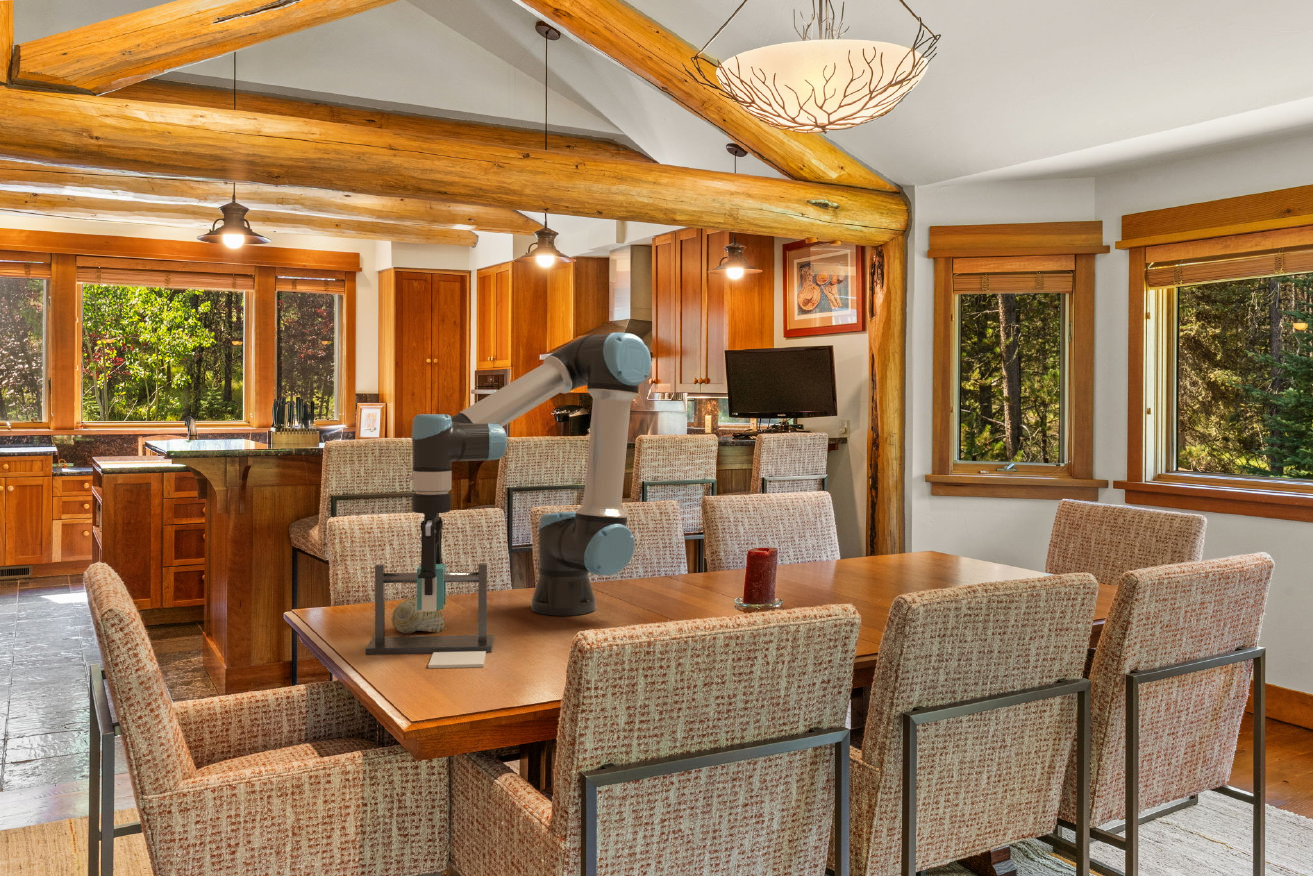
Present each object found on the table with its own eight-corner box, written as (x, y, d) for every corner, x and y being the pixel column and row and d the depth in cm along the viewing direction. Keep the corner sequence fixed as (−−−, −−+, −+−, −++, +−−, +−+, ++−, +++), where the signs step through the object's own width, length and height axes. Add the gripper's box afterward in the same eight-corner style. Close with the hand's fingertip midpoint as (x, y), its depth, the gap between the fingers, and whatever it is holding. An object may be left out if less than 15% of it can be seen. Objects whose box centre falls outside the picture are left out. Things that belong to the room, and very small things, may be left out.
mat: (485, 654, 189) (486, 651, 189) (483, 667, 180) (483, 664, 180) (433, 655, 188) (433, 652, 188) (428, 668, 179) (428, 665, 179)
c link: (445, 603, 196) (445, 564, 196) (443, 609, 191) (443, 569, 190) (420, 603, 196) (420, 564, 195) (416, 609, 190) (417, 569, 190)
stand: (493, 640, 199) (494, 560, 199) (491, 652, 190) (491, 567, 190) (373, 642, 196) (373, 561, 196) (365, 654, 188) (365, 569, 187)
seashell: (453, 622, 212) (445, 586, 207) (432, 652, 204) (423, 615, 199) (412, 616, 215) (402, 580, 210) (389, 646, 207) (379, 609, 202)
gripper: (418, 487, 202) (418, 595, 203) (405, 497, 181) (405, 618, 182) (455, 487, 203) (455, 595, 204) (446, 497, 182) (445, 617, 183)
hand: (431, 605), depth 193 cm, fingers open, 8 cm apart
